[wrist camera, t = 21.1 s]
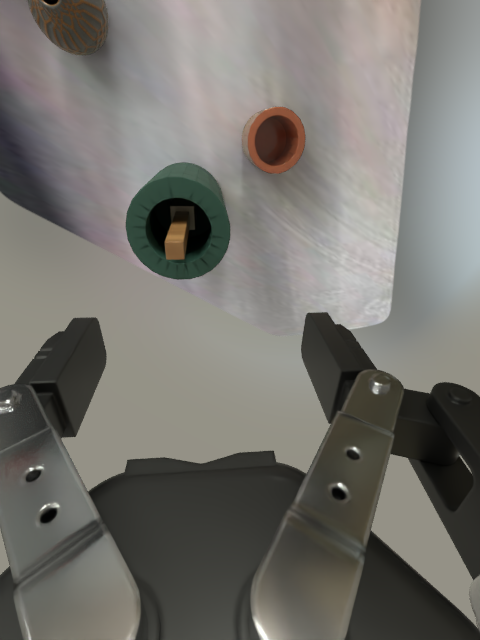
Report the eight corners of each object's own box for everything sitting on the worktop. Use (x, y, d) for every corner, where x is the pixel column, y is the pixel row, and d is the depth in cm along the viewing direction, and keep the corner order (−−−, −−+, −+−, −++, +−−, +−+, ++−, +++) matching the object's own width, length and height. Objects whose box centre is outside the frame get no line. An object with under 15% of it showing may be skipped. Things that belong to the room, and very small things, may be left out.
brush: (175, 194, 44) (156, 235, 27) (195, 194, 44) (189, 234, 27) (176, 215, 45) (160, 266, 28) (196, 214, 46) (191, 266, 29)
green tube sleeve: (144, 162, 42) (117, 176, 29) (222, 163, 43) (230, 177, 30) (153, 239, 47) (134, 280, 35) (223, 239, 48) (230, 278, 36)
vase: (118, 63, 37) (97, 46, 29) (55, 57, 36) (16, 39, 29) (109, -21, 33) (82, -65, 26) (39, -29, 33) (-10, -76, 25)
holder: (242, 109, 40) (248, 105, 34) (293, 110, 41) (308, 107, 35) (241, 167, 44) (246, 173, 38) (288, 167, 44) (301, 173, 38)
